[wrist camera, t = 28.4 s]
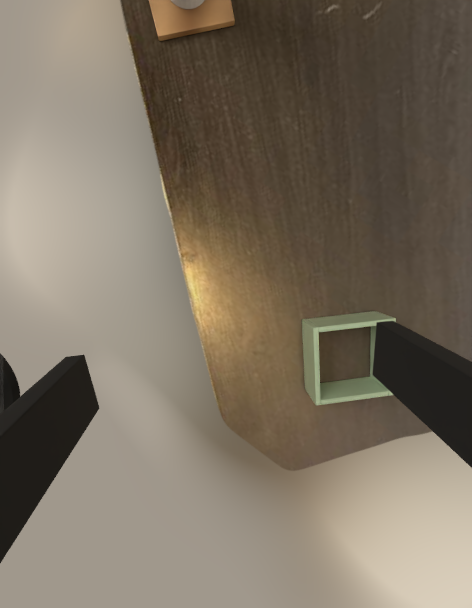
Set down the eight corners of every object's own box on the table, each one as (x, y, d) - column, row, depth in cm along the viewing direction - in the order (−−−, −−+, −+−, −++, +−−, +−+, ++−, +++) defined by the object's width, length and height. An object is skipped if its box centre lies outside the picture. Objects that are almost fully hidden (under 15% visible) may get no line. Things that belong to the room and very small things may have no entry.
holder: (304, 389, 45) (315, 405, 40) (301, 319, 42) (313, 327, 37) (374, 379, 46) (393, 395, 41) (375, 310, 43) (395, 318, 38)
